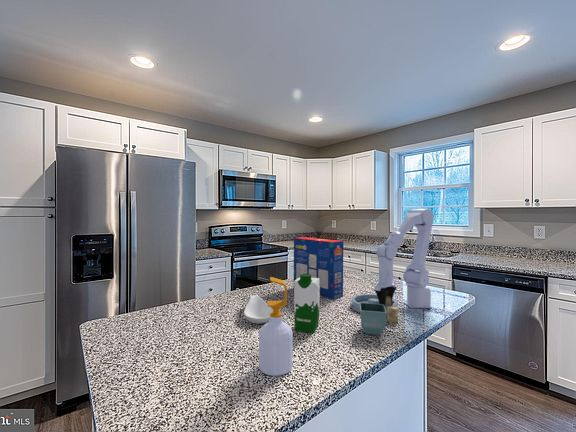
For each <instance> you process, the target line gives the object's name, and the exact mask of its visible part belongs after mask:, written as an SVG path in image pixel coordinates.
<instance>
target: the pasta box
mask: <svg viewBox="0 0 576 432" xmlns="http://www.w3.org/2000/svg"><path fill="white" fill-rule="evenodd" d="M301 274H310V275H311V278H319V287H320V290H319V294H320V296H319V297H322V298H326V299H329V300H337V299H340V298H343V297H344V240H337V239H327V238H318V237H317V238H316V237H306V236H303V237H301V236H300V237H293V282H294V281H295V280H296V279H297V278H299V277H300V275H301Z"/></svg>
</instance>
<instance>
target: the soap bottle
mask: <svg viewBox="0 0 576 432" xmlns="http://www.w3.org/2000/svg"><path fill="white" fill-rule="evenodd" d="M269 281H270V282H271V283H275V284H278V285H281V286H283V287H284V297H283V299H282V300H268V301H267V304H268V307H271V308H272V309H273V312H271V313H270V320H269V321H268V322H266V323H264V324H263V325H262V326H261V328H260V330H259V332H258V336H259V337H258V341H259V342H258V347H259V348H258V360H259V361H258V367H259V371H261V372H262V374H265V375H267V376H273V377H279V376H284V375H286V374H287V373H290V372H291V370H292V368H293V330H292V327H291V326H290V325H289V324H288V323H286V322H285V321H283V313H282V312H281V311H280V309H282V308H283V307H286V306H287V303H288V288H287V287H288V286H287V284H286V282H285V281H284V280H283V279H279V278H276V277H272V276H270V277H269Z"/></svg>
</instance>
